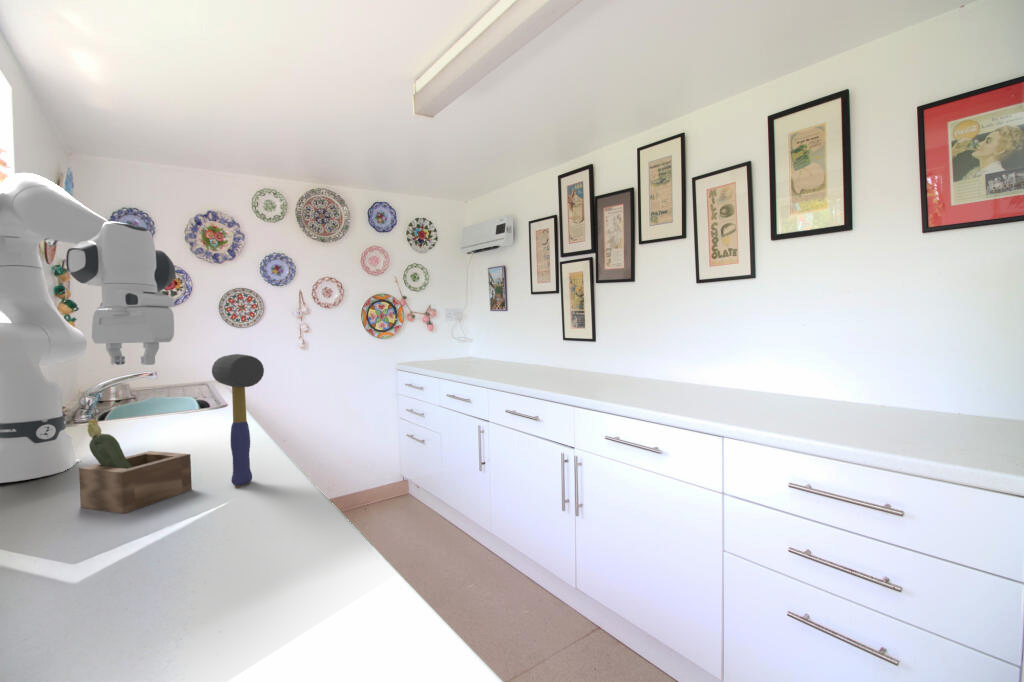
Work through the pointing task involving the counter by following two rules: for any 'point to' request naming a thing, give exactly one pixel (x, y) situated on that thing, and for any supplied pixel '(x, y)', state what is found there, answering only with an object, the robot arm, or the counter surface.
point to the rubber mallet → (239, 407)
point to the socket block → (135, 482)
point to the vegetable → (106, 448)
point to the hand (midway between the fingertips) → (132, 364)
